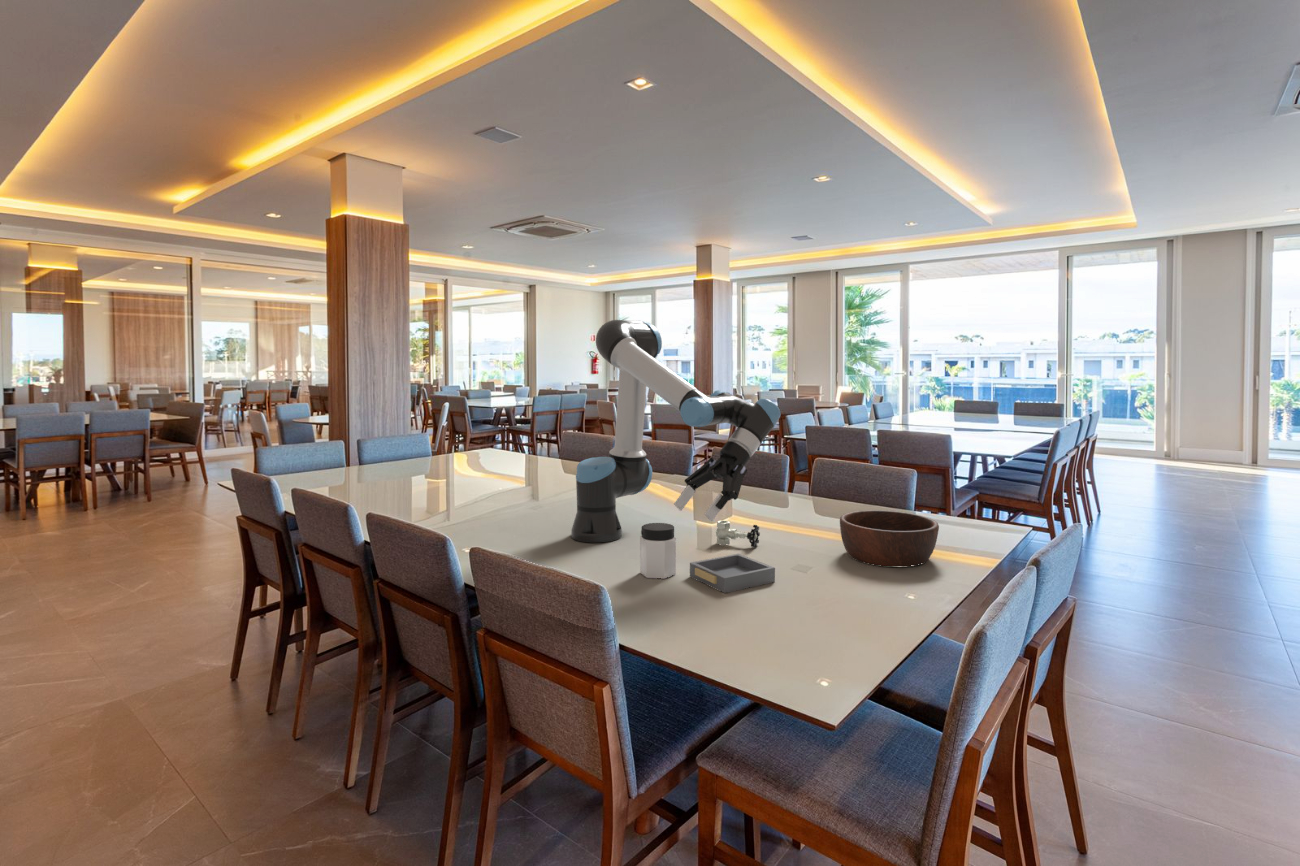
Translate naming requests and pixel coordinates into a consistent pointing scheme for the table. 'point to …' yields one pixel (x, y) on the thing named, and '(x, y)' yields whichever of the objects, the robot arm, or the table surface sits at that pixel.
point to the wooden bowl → (888, 537)
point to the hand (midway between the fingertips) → (692, 512)
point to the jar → (657, 550)
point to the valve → (735, 534)
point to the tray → (732, 572)
